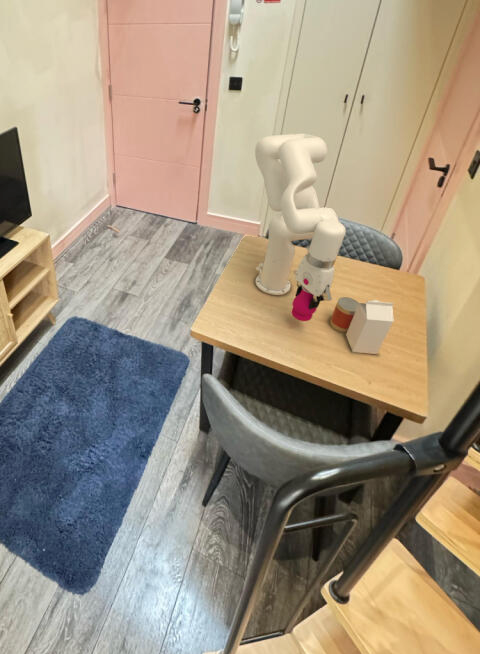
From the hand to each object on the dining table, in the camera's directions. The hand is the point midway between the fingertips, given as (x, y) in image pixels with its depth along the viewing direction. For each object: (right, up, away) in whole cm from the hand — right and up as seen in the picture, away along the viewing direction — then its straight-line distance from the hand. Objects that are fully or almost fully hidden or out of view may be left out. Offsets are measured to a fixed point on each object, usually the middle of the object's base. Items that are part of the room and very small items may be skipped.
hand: (306, 301), depth 130 cm
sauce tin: (+15, -9, +7) cm, 19 cm away
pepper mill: (0, -5, +4) cm, 7 cm away
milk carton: (+17, -14, -1) cm, 23 cm away
